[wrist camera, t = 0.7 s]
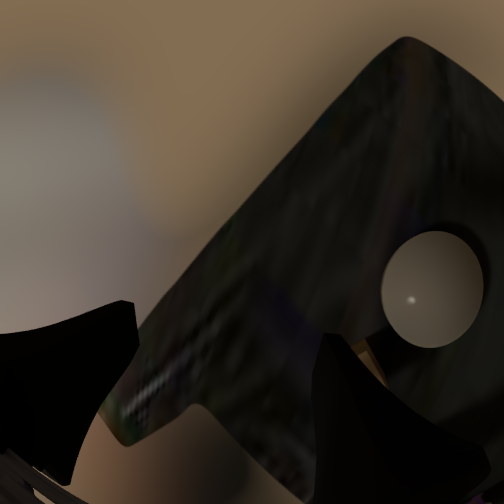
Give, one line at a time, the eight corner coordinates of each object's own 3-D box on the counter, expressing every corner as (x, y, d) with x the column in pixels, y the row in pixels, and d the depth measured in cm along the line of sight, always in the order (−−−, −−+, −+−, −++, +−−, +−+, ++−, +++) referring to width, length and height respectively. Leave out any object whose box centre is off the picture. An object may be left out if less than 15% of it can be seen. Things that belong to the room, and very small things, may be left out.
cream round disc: (486, 301, 21) (498, 303, 18) (409, 360, 24) (414, 369, 21) (440, 215, 24) (448, 209, 21) (360, 273, 27) (361, 273, 24)
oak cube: (385, 375, 24) (389, 393, 20) (344, 396, 26) (341, 417, 21) (364, 338, 26) (366, 350, 21) (323, 361, 27) (317, 377, 22)
